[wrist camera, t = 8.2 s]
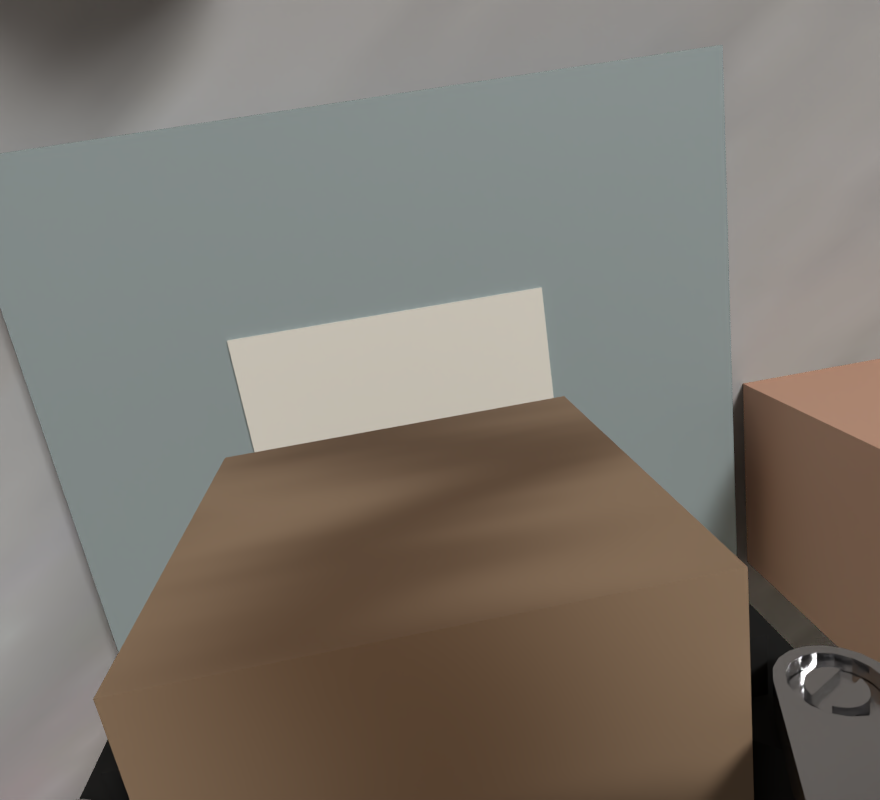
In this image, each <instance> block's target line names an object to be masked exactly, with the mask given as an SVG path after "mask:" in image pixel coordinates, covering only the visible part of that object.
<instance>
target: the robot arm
mask: <svg viewBox="0 0 880 800" xmlns="http://www.w3.org/2000/svg"><path fill="white" fill-rule="evenodd" d="M749 631H750V669H751V707H752V745H753V784H754V800H880V663H879V662H878V661H876V660H874V659H872V658H869V657H867V656H865V655H863V654H861V653H858V652H855V651H851V650H848V649H844V648H840V647H832V646H824V645H817V646H803V647H800V648H796V649H793V648H792V647H791V646H790V645H789V644H788V643H787V641H786V640H785V639H784V638H783V637H782V636H781V635H780V634H779V633H778V632H777V631H776V630H775V629H774V628H773V627H772V626H771V625H770V624H769V623H768V622H767V621H766V620H765V619H764V618H763V617H762V616H761V615H760V614H759V613H758V612H757V611H756V610H755V609H754V608H753V607H752V606H751V605H750V604H749ZM78 800H130V799H129V796H128V793H127V791H126V788H125V785H124V782H123V780H122V777H121V774H120V771H119V769H118V766H117V763H116V760H115V758H114V755H113V752H112V749H111V747H110V744H109V741H108V740H107V742H106V745H105V747H104V749H103V751H102V753H101V755H100V757H99V759H98V761H97V763H96V766H95V768H94V770H93V772H92V774H91V776H90V778H89V780H88V782H87V784H86V787H85V789H84V791H83V793H82V795H81V797H80V799H78Z"/></svg>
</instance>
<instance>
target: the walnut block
mask: <svg viewBox="0 0 880 800" xmlns="http://www.w3.org/2000/svg"><path fill="white" fill-rule="evenodd" d="M93 700H94V702H95V705H96V708H97V711H98V713H99V716H100V719H101V722H102V724H103V727H104V730H105V733H106V735H107V738H108V741H109V744H110V747H111V749H112V752H113V755H114V758H115V760H116V763H117V766H118V769H119V771H120V774H121V777H122V780H123V782H124V785H125V788H126V791H127V793H128V796H129V799H130V800H754V784H753V745H752V707H751V669H750V631H749V592H748V567H747V566H746V565H745V564H744V563H743V562H742V561H741V560H740V559H739V558H738V557H737V556H735V555H734V554H733V553H732V552H731V551H730V550H729V549H728V548H727V547H726V546H725V545H724V544H723V543H721V542H720V541H719V540H718V539H717V538H716V537H715V536H714V535H713V534H712V533H711V532H710V531H709V530H708V529H706V528H705V527H704V526H703V525H702V524H701V523H700V522H699V521H698V520H697V519H696V518H695V517H694V516H692V515H691V514H690V513H689V512H688V511H687V510H686V509H685V508H684V507H683V506H682V505H681V504H680V503H678V502H677V501H676V500H675V499H674V498H673V497H672V496H671V495H670V494H669V493H668V492H667V491H666V490H665V489H663V488H662V487H661V486H660V485H659V484H658V483H657V482H656V481H655V480H654V479H653V478H652V477H651V476H649V475H648V474H647V473H646V472H645V471H644V470H643V469H642V468H641V467H640V466H639V465H638V464H637V463H636V462H634V461H633V460H632V459H631V458H630V457H629V456H628V455H627V454H626V453H625V452H624V451H623V450H622V449H620V448H619V447H618V446H617V445H616V444H615V443H614V442H613V441H612V440H611V439H610V438H609V437H608V436H607V435H605V434H604V433H603V432H602V431H601V430H600V429H599V428H598V427H597V426H596V425H595V424H594V423H593V422H591V421H590V420H589V419H588V418H587V417H586V416H585V415H584V414H583V413H582V412H581V411H580V410H579V409H577V408H576V407H575V406H574V405H573V404H572V403H571V402H570V401H569V400H568V399H567V398H566V397H565V396H562V397H556V398H551V399H545V400H540V401H534V402H529V403H523V404H518V405H512V406H507V407H501V408H496V409H490V410H485V411H479V412H474V413H468V414H463V415H457V416H452V417H446V418H441V419H435V420H430V421H424V422H419V423H413V424H408V425H402V426H397V427H391V428H386V429H380V430H375V431H369V432H364V433H358V434H353V435H347V436H342V437H336V438H331V439H325V440H320V441H314V442H309V443H303V444H298V445H292V446H287V447H281V448H276V449H270V450H265V451H259V452H254V453H248V454H243V455H237V456H232V457H226V458H225V459H224V461H223V462H222V464H221V466H220V468H219V470H218V472H217V473H216V475H215V477H214V479H213V481H212V483H211V484H210V486H209V488H208V490H207V492H206V493H205V495H204V497H203V499H202V501H201V503H200V504H199V506H198V508H197V510H196V512H195V514H194V515H193V517H192V519H191V521H190V523H189V525H188V526H187V528H186V530H185V532H184V534H183V536H182V537H181V539H180V541H179V543H178V545H177V547H176V548H175V550H174V552H173V554H172V556H171V558H170V559H169V561H168V563H167V565H166V567H165V569H164V570H163V572H162V574H161V576H160V578H159V580H158V581H157V583H156V585H155V587H154V589H153V591H152V592H151V594H150V596H149V598H148V600H147V602H146V603H145V605H144V607H143V609H142V611H141V613H140V614H139V616H138V618H137V620H136V622H135V624H134V625H133V627H132V629H131V631H130V633H129V635H128V636H127V638H126V640H125V642H124V644H123V646H122V647H121V649H120V651H119V653H118V655H117V657H116V658H115V660H114V662H113V664H112V666H111V668H110V669H109V671H108V673H107V675H106V677H105V679H104V680H103V682H102V684H101V686H100V688H99V690H98V691H97V693H96V695H95V697H94V699H93Z"/></svg>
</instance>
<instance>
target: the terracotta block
mask: <svg viewBox="0 0 880 800" xmlns="http://www.w3.org/2000/svg"><path fill="white" fill-rule="evenodd" d="M743 404H744V444H745V484H746V524H747V562H748V563H749V564H750V565H751V566H753V567H754V568H755V569H756V570H757V571H758V572H759V573H760V574H761V575H762V576H763V577H764V578H765V579H766V580H767V581H768V582H770V583H771V584H772V585H773V586H774V587H775V588H776V589H777V590H778V591H779V592H780V593H781V594H782V595H783V596H784V597H786V598H787V599H788V600H789V601H790V602H791V603H792V604H793V605H794V606H795V607H796V608H797V609H798V610H799V611H800V612H802V613H803V614H804V615H805V616H806V617H807V618H808V619H809V620H810V621H811V622H812V623H813V624H814V625H815V626H816V627H817V628H819V629H820V630H821V631H822V632H823V633H824V634H825V635H826V636H827V637H828V638H829V639H830V640H831V641H832V642H833V643H835V644H836V645H837V646H838V647H840V648H844V649H848V650H851V651H855V652H858V653H861V654H863V655H865V656H867V657H869V658H872V659H874V660H876V661H878V662H879V663H880V359H876V360H870V361H865V362H859V363H854V364H848V365H843V366H837V367H832V368H826V369H821V370H815V371H810V372H804V373H799V374H793V375H788V376H782V377H777V378H771V379H766V380H760V381H755V382H749V383H744V384H743Z"/></svg>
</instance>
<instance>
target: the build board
mask: <svg viewBox="0 0 880 800" xmlns="http://www.w3.org/2000/svg"><path fill="white" fill-rule="evenodd" d="M0 308H1V311H2V314H3V317H4V320H5V323H6V326H7V329H8V332H9V335H10V338H11V340H12V343H13V346H14V349H15V352H16V355H17V358H18V361H19V364H20V367H21V370H22V372H23V375H24V378H25V381H26V384H27V387H28V390H29V393H30V396H31V399H32V402H33V405H34V407H35V410H36V413H37V416H38V419H39V422H40V425H41V428H42V431H43V434H44V437H45V440H46V442H47V445H48V448H49V451H50V454H51V457H52V460H53V463H54V466H55V469H56V472H57V474H58V477H59V480H60V483H61V486H62V489H63V492H64V495H65V498H66V501H67V504H68V507H69V509H70V512H71V515H72V518H73V521H74V524H75V527H76V530H77V533H78V536H79V539H80V542H81V544H82V547H83V550H84V553H85V556H86V559H87V562H88V565H89V568H90V571H91V574H92V577H93V579H94V582H95V585H96V588H97V591H98V594H99V597H100V600H101V603H102V606H103V609H104V611H105V614H106V617H107V620H108V623H109V626H110V629H111V632H112V635H113V638H114V641H115V644H116V646H117V649H118V652H119V651H120V649H121V647H122V646H123V644H124V642H125V640H126V638H127V636H128V635H129V633H130V631H131V629H132V627H133V625H134V624H135V622H136V620H137V618H138V616H139V614H140V613H141V611H142V609H143V607H144V605H145V603H146V602H147V600H148V598H149V596H150V594H151V592H152V591H153V589H154V587H155V585H156V583H157V581H158V580H159V578H160V576H161V574H162V572H163V570H164V569H165V567H166V565H167V563H168V561H169V559H170V558H171V556H172V554H173V552H174V550H175V548H176V547H177V545H178V543H179V541H180V539H181V537H182V536H183V534H184V532H185V530H186V528H187V526H188V525H189V523H190V521H191V519H192V517H193V515H194V514H195V512H196V510H197V508H198V506H199V504H200V503H201V501H202V499H203V497H204V495H205V493H206V492H207V490H208V488H209V486H210V484H211V483H212V481H213V479H214V477H215V475H216V473H217V472H218V470H219V468H220V466H221V464H222V462H223V461H224V459H225V458H226V457H232V456H237V455H243V454H248V453H254V452H259V451H265V450H270V449H276V448H281V447H287V446H292V445H298V444H303V443H309V442H314V441H320V440H325V439H331V438H336V437H342V436H347V435H353V434H358V433H364V432H369V431H375V430H380V429H386V428H391V427H397V426H402V425H408V424H413V423H419V422H424V421H430V420H435V419H441V418H446V417H452V416H457V415H463V414H468V413H474V412H479V411H485V410H490V409H496V408H501V407H507V406H512V405H518V404H523V403H529V402H534V401H540V400H545V399H551V398H556V397H562V396H565V397H566V398H567V399H568V400H569V401H570V402H571V403H572V404H573V405H574V406H575V407H576V408H577V409H579V410H580V411H581V412H582V413H583V414H584V415H585V416H586V417H587V418H588V419H589V420H590V421H591V422H593V423H594V424H595V425H596V426H597V427H598V428H599V429H600V430H601V431H602V432H603V433H604V434H605V435H607V436H608V437H609V438H610V439H611V440H612V441H613V442H614V443H615V444H616V445H617V446H618V447H619V448H620V449H622V450H623V451H624V452H625V453H626V454H627V455H628V456H629V457H630V458H631V459H632V460H633V461H634V462H636V463H637V464H638V465H639V466H640V467H641V468H642V469H643V470H644V471H645V472H646V473H647V474H648V475H649V476H651V477H652V478H653V479H654V480H655V481H656V482H657V483H658V484H659V485H660V486H661V487H662V488H663V489H665V490H666V491H667V492H668V493H669V494H670V495H671V496H672V497H673V498H674V499H675V500H676V501H677V502H678V503H680V504H681V505H682V506H683V507H684V508H685V509H686V510H687V511H688V512H689V513H690V514H691V515H692V516H694V517H695V518H696V519H697V520H698V521H699V522H700V523H701V524H702V525H703V526H704V527H705V528H706V529H708V530H709V531H710V532H711V533H712V534H713V535H714V536H715V537H716V538H717V539H718V540H719V541H720V542H721V543H723V544H724V545H725V546H726V547H727V548H728V549H729V550H730V551H731V552H732V553H733V554H734V555H735V556H737V544H736V509H735V473H734V437H733V401H732V365H731V330H730V294H729V258H728V222H727V187H726V151H725V115H724V79H723V45H717V46H710V47H704V48H697V49H690V50H684V51H677V52H671V53H664V54H657V55H651V56H644V57H637V58H631V59H624V60H617V61H611V62H604V63H598V64H591V65H584V66H578V67H571V68H564V69H558V70H551V71H544V72H538V73H531V74H525V75H518V76H511V77H505V78H498V79H491V80H485V81H478V82H471V83H465V84H458V85H452V86H445V87H438V88H432V89H425V90H418V91H412V92H405V93H398V94H392V95H385V96H378V97H372V98H365V99H359V100H352V101H345V102H339V103H332V104H325V105H319V106H312V107H305V108H299V109H292V110H286V111H279V112H272V113H266V114H259V115H252V116H246V117H239V118H232V119H226V120H219V121H213V122H206V123H199V124H193V125H186V126H179V127H173V128H166V129H159V130H153V131H146V132H140V133H133V134H126V135H120V136H113V137H106V138H100V139H93V140H86V141H80V142H73V143H67V144H60V145H53V146H47V147H40V148H33V149H27V150H20V151H13V152H7V153H0Z"/></svg>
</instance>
